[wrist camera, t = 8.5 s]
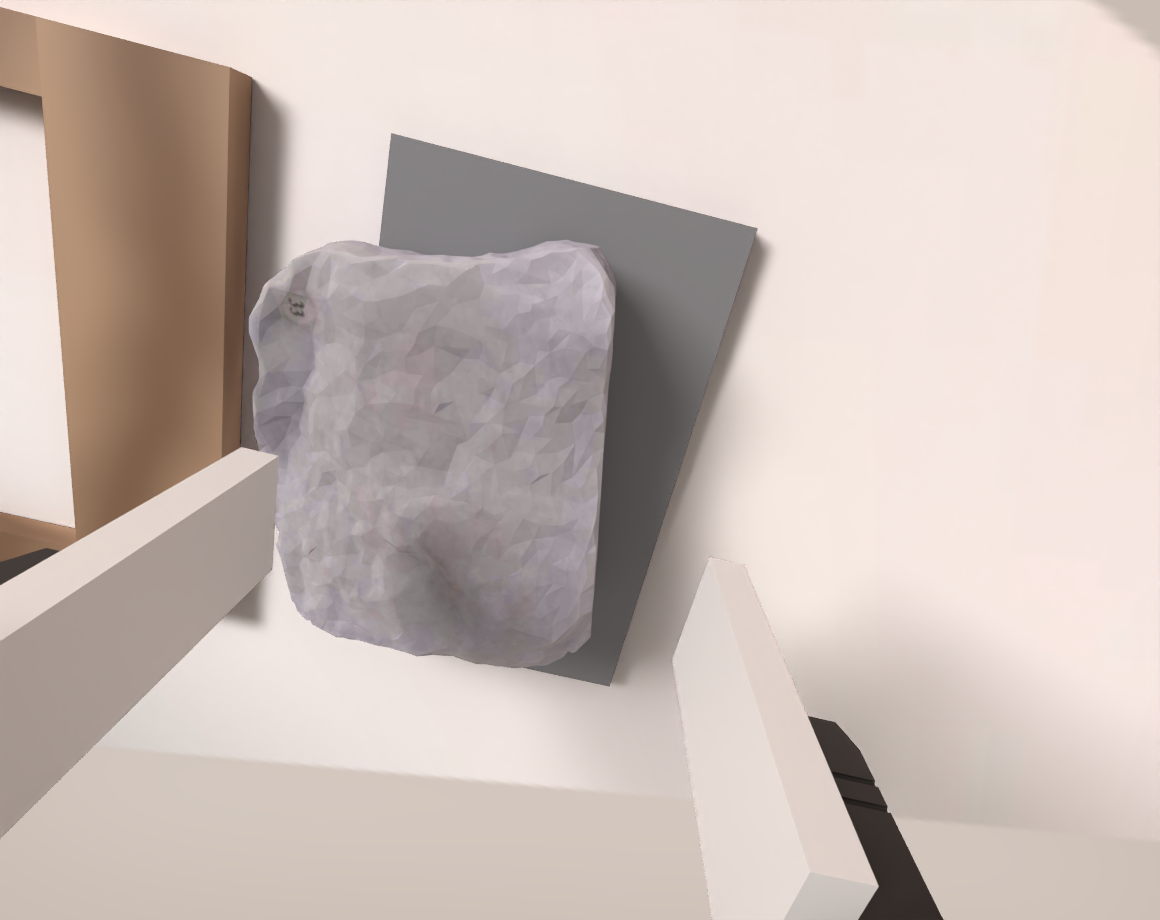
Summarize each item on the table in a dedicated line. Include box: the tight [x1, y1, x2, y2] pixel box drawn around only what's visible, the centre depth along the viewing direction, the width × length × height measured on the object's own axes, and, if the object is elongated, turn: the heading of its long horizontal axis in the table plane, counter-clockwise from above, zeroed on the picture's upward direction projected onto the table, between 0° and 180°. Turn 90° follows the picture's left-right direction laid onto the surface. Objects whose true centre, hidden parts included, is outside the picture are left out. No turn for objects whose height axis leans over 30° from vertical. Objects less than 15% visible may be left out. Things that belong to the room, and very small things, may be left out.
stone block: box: [249, 240, 616, 668], centre depth 17 cm, size 12×5×10 cm
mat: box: [379, 133, 757, 686], centre depth 19 cm, size 10×16×1 cm, turn 166°
